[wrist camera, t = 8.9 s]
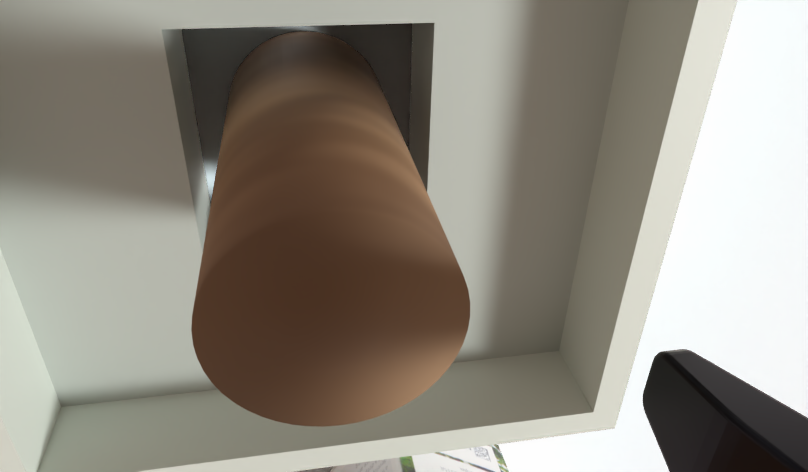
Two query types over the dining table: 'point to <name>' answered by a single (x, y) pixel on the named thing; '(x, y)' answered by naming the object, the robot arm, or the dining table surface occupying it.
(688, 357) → the robot arm
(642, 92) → the bore box
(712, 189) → the dining table surface
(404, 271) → the peg
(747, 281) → the dining table surface
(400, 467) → the syrup box
